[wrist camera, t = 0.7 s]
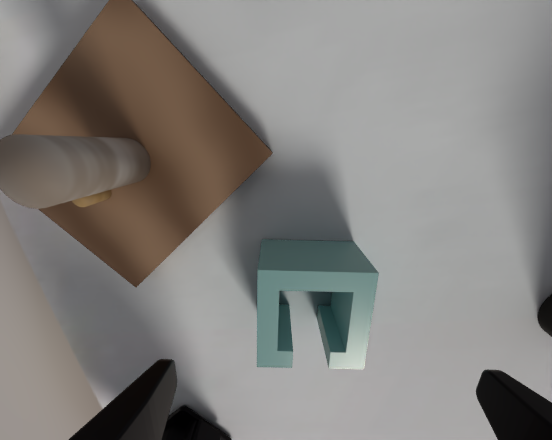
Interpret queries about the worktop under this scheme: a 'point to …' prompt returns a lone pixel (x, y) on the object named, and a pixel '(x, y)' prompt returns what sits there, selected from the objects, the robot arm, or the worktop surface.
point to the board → (159, 118)
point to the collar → (331, 319)
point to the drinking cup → (546, 316)
